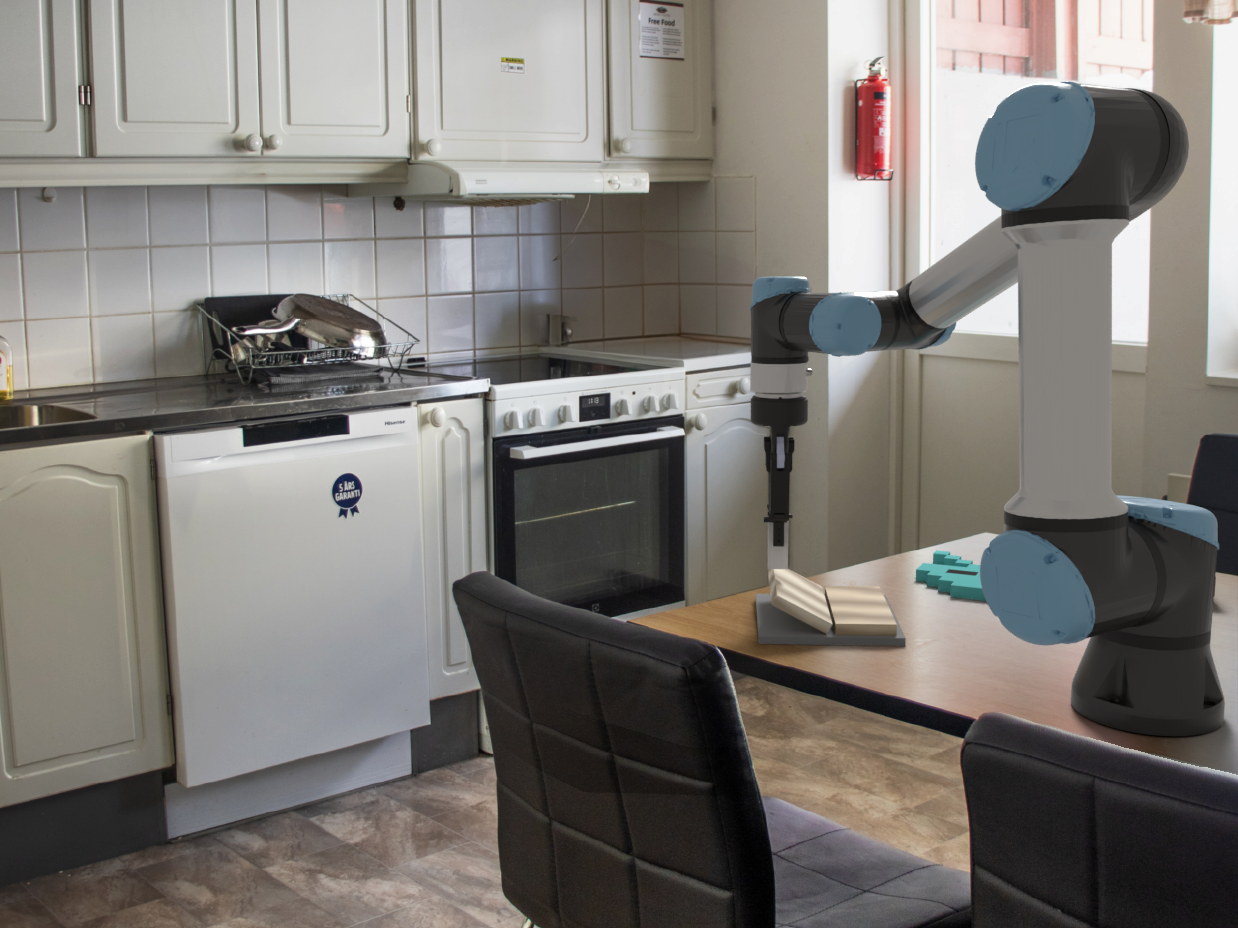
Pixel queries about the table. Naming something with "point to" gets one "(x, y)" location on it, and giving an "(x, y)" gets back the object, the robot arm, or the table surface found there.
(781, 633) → the underlay mat
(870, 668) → the table surface
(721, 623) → the table surface
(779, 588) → the birch plank
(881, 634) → the floor strip
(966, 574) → the alien figure
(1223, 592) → the table surface
